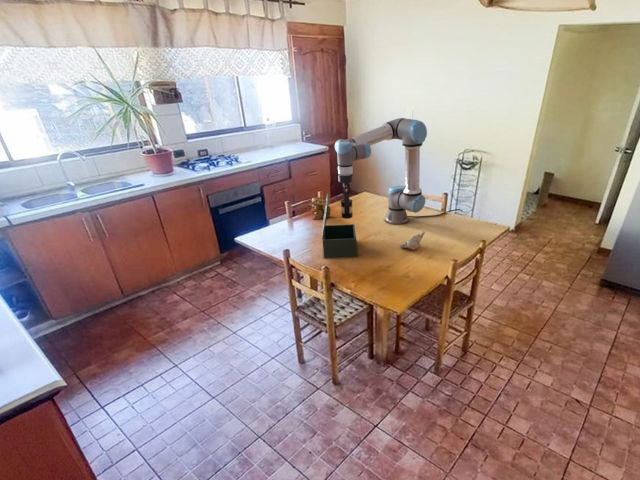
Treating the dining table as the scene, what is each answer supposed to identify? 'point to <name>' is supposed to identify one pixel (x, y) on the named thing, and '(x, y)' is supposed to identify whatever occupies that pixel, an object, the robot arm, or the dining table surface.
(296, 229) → the dining table surface
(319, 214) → the stuffed squirrel
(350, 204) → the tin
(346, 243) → the open box
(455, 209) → the robot arm
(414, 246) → the seashell
